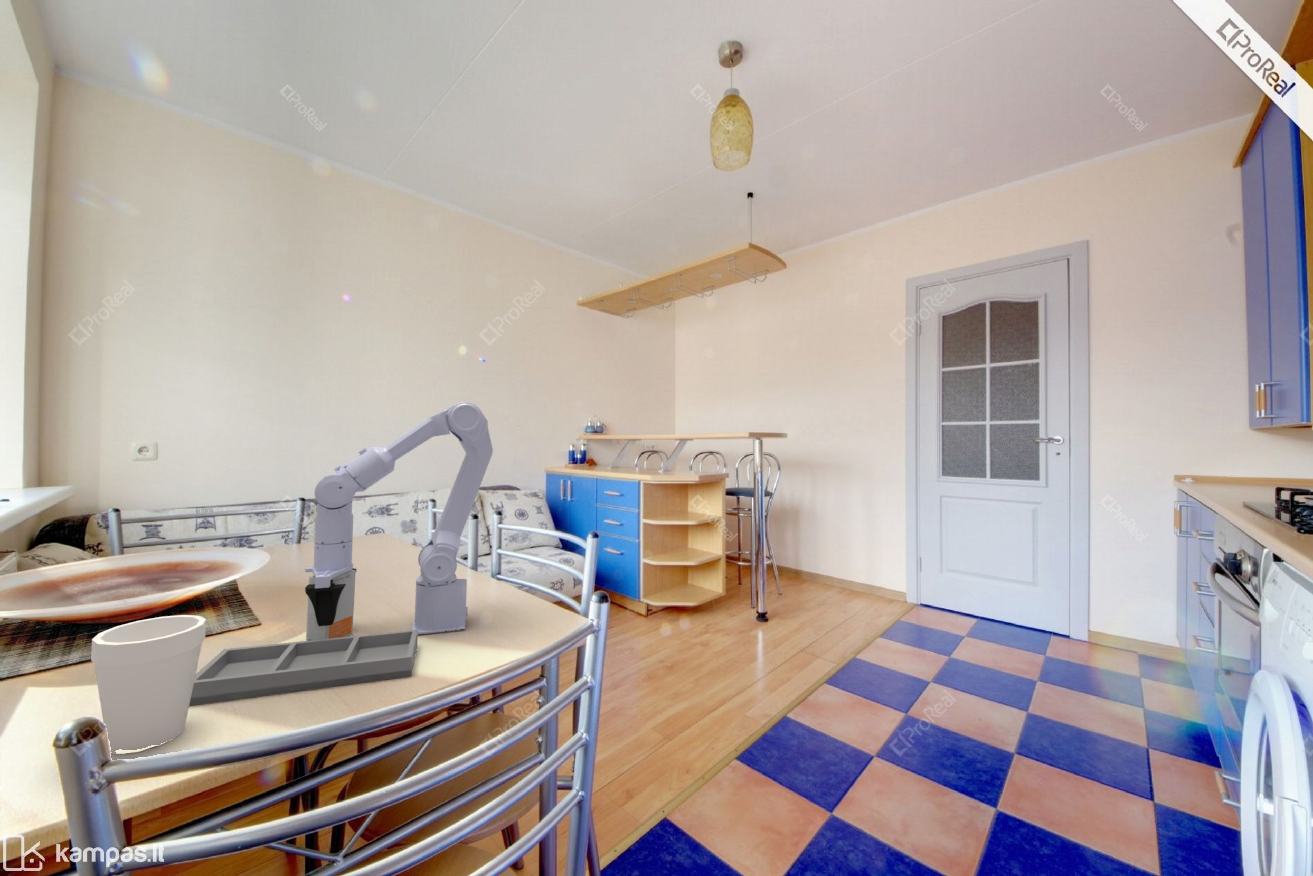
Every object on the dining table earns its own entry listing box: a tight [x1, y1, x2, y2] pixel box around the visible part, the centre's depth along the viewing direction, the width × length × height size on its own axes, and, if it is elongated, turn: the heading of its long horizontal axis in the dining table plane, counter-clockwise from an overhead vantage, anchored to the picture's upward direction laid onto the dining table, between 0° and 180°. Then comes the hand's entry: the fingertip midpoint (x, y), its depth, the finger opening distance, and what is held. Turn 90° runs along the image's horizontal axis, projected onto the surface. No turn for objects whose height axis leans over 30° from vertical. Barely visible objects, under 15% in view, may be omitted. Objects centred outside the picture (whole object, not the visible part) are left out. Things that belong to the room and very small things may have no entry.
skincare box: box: [305, 570, 357, 641], centre depth 88 cm, size 6×4×12 cm
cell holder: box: [189, 629, 419, 707], centre depth 76 cm, size 27×12×3 cm, turn 112°
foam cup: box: [90, 614, 207, 756], centre depth 59 cm, size 10×9×13 cm
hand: (331, 617), depth 88 cm, fingers closed on skincare box, 7 cm apart
